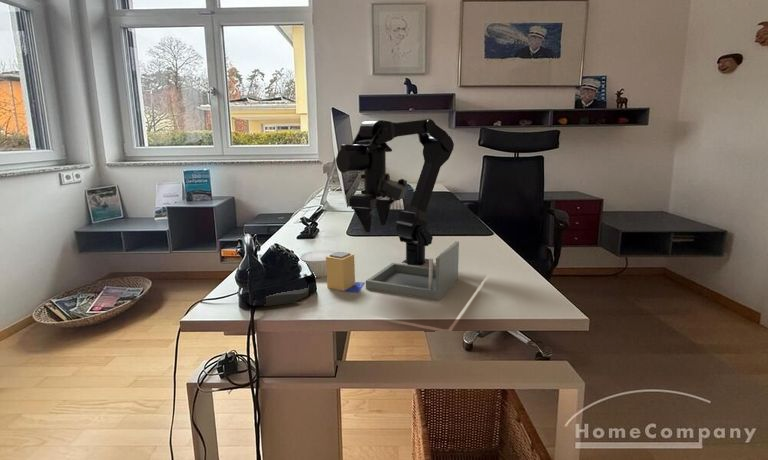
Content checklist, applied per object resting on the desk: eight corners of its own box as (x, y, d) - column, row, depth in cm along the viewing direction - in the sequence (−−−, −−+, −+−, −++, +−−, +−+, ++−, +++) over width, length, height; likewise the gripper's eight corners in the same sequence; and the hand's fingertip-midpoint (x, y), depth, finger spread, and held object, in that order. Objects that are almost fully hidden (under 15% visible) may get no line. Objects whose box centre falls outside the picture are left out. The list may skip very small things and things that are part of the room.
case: (392, 271, 119) (392, 234, 117) (457, 280, 111) (458, 241, 109) (366, 290, 105) (365, 249, 103) (438, 302, 97) (439, 258, 95)
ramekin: (293, 272, 119) (292, 254, 118) (326, 264, 126) (325, 247, 125) (314, 283, 111) (313, 263, 110) (348, 273, 118) (348, 255, 117)
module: (339, 281, 110) (337, 250, 108) (355, 284, 108) (354, 252, 106) (327, 287, 106) (325, 255, 104) (343, 291, 103) (342, 258, 102)
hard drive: (366, 281, 110) (320, 279, 112) (358, 293, 102) (309, 290, 104) (366, 287, 110) (320, 285, 112) (358, 299, 102) (309, 296, 104)
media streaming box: (246, 310, 96) (244, 297, 95) (247, 287, 109) (246, 276, 109) (311, 302, 99) (310, 290, 99) (304, 281, 113) (304, 271, 112)
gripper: (387, 174, 99) (388, 239, 102) (416, 167, 115) (416, 224, 119) (346, 173, 103) (348, 235, 107) (379, 166, 120) (380, 221, 123)
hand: (375, 228), depth 114 cm, fingers open, 9 cm apart
